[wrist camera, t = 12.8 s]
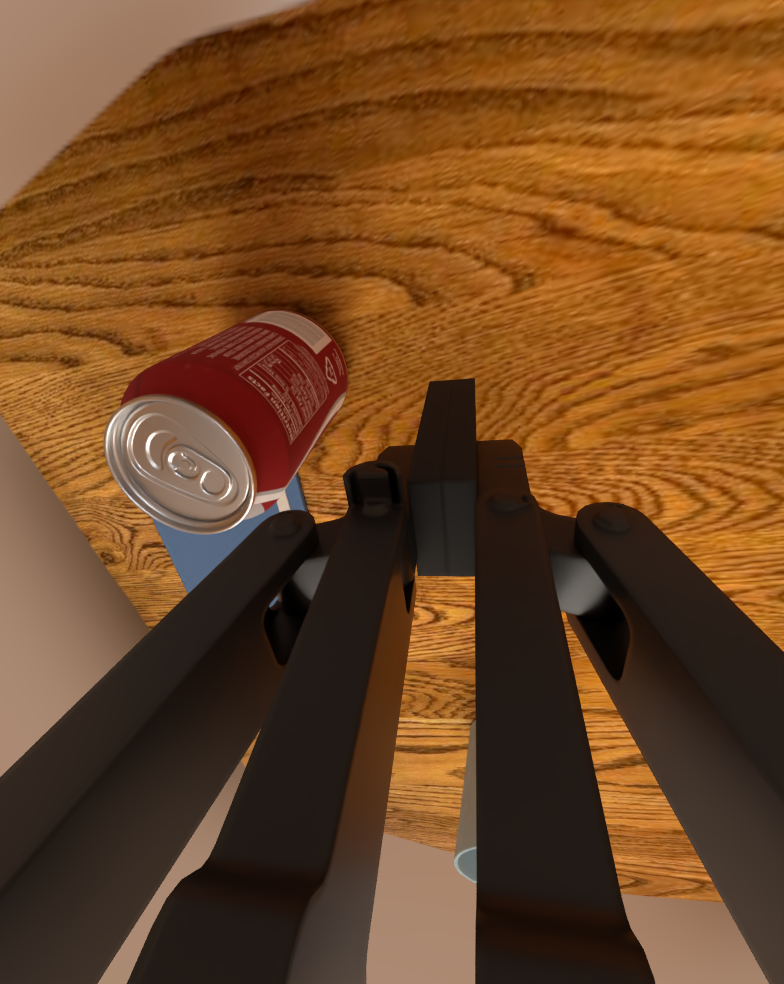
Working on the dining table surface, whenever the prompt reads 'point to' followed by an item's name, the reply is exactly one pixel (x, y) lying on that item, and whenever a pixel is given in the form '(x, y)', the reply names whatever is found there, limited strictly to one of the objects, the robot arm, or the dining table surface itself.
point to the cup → (468, 816)
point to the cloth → (220, 539)
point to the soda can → (226, 421)
